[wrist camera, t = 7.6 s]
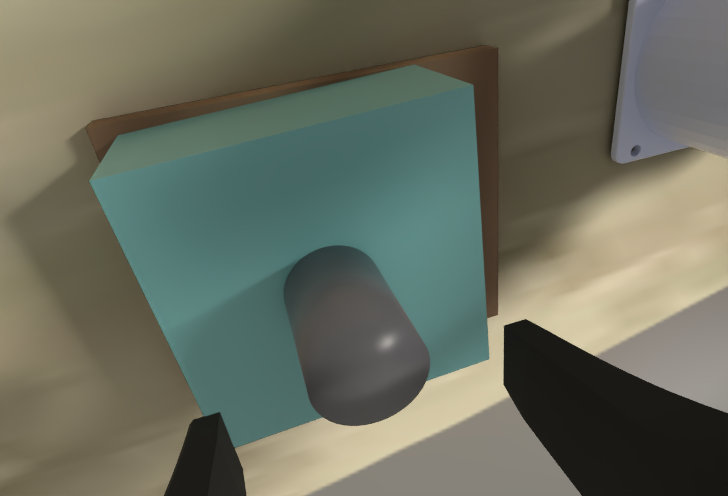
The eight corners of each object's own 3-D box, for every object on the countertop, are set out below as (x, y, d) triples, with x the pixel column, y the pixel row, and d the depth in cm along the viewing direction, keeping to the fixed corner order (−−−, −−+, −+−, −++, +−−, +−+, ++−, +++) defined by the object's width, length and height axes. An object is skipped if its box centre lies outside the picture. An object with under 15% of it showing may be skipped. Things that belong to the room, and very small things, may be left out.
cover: (414, 64, 17) (566, 116, 10) (441, 296, 22) (554, 443, 15) (117, 135, 15) (40, 259, 8) (218, 367, 20) (225, 571, 13)
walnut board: (484, 45, 18) (498, 48, 18) (487, 303, 24) (497, 314, 23) (91, 120, 16) (85, 128, 15) (201, 387, 22) (201, 403, 21)
